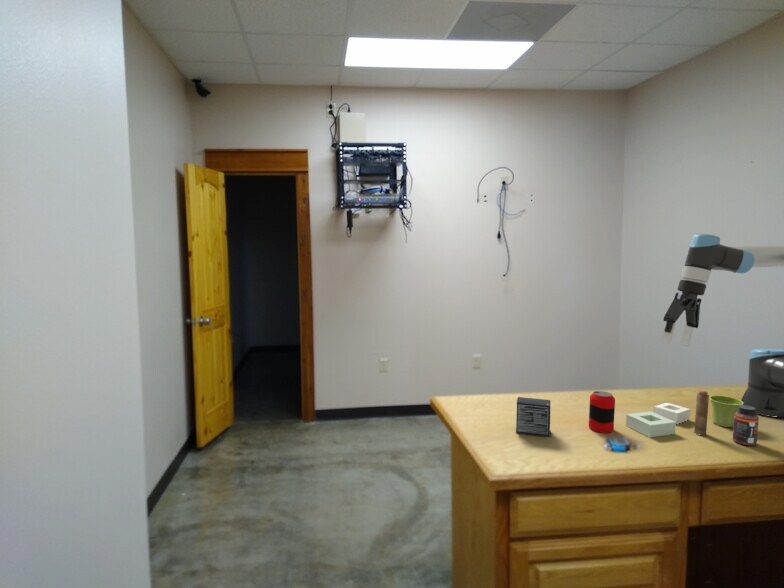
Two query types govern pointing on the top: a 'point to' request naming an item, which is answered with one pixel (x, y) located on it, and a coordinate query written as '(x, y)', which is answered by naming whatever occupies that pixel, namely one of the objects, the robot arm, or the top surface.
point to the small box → (533, 416)
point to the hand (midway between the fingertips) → (675, 343)
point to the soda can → (601, 412)
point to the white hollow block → (673, 412)
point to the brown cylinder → (701, 412)
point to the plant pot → (724, 409)
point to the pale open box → (650, 424)
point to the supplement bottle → (745, 426)
